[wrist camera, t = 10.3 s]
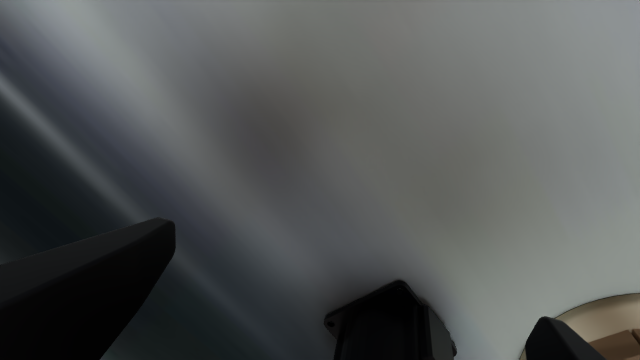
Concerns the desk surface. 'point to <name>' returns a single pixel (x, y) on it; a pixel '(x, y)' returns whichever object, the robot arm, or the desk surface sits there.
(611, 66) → the desk surface
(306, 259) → the desk surface
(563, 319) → the well tray
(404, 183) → the desk surface
